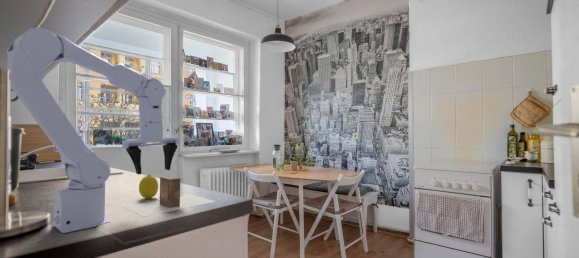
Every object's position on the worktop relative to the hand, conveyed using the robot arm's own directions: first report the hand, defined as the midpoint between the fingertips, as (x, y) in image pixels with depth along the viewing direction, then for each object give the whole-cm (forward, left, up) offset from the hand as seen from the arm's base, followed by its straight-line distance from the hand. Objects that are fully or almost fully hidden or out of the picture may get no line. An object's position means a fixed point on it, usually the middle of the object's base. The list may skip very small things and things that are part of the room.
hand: (153, 171), depth 83 cm
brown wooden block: (+5, 0, -10) cm, 11 cm away
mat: (+6, +1, -11) cm, 12 cm away
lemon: (+5, +13, -11) cm, 17 cm away
